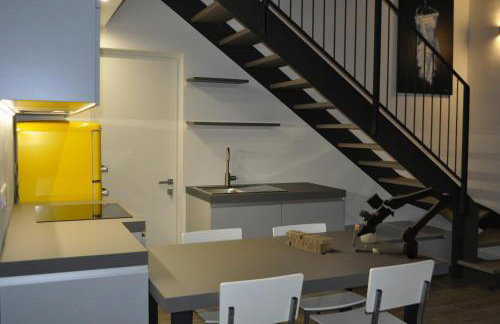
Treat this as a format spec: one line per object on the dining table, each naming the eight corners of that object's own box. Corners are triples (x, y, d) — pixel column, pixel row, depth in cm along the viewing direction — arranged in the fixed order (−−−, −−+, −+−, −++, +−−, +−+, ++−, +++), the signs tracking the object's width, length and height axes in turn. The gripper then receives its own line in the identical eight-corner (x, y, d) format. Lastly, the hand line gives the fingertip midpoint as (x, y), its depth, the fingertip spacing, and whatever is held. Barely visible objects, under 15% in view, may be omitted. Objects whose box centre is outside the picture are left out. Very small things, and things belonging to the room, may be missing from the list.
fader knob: (366, 249, 274) (366, 245, 274) (366, 250, 272) (366, 246, 271) (364, 249, 274) (364, 245, 274) (364, 249, 272) (364, 245, 272)
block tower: (283, 246, 287) (321, 255, 263) (283, 230, 286) (321, 238, 263) (294, 244, 291) (332, 253, 268) (294, 229, 291) (332, 237, 268)
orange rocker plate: (354, 249, 272) (359, 224, 270) (354, 251, 267) (359, 226, 266) (350, 248, 272) (355, 224, 271) (350, 250, 267) (355, 225, 266)
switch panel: (382, 252, 273) (382, 244, 273) (384, 257, 260) (384, 250, 260) (343, 249, 277) (344, 242, 276) (344, 255, 264) (344, 247, 264)
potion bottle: (375, 242, 297) (376, 211, 296) (377, 245, 288) (378, 213, 287) (359, 241, 298) (360, 210, 297) (361, 245, 289) (362, 213, 288)
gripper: (367, 202, 276) (346, 221, 278) (369, 207, 257) (346, 228, 260) (382, 217, 275) (360, 237, 277) (385, 223, 257) (362, 244, 259)
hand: (357, 236), depth 269 cm, fingers closed, pressing on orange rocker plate
